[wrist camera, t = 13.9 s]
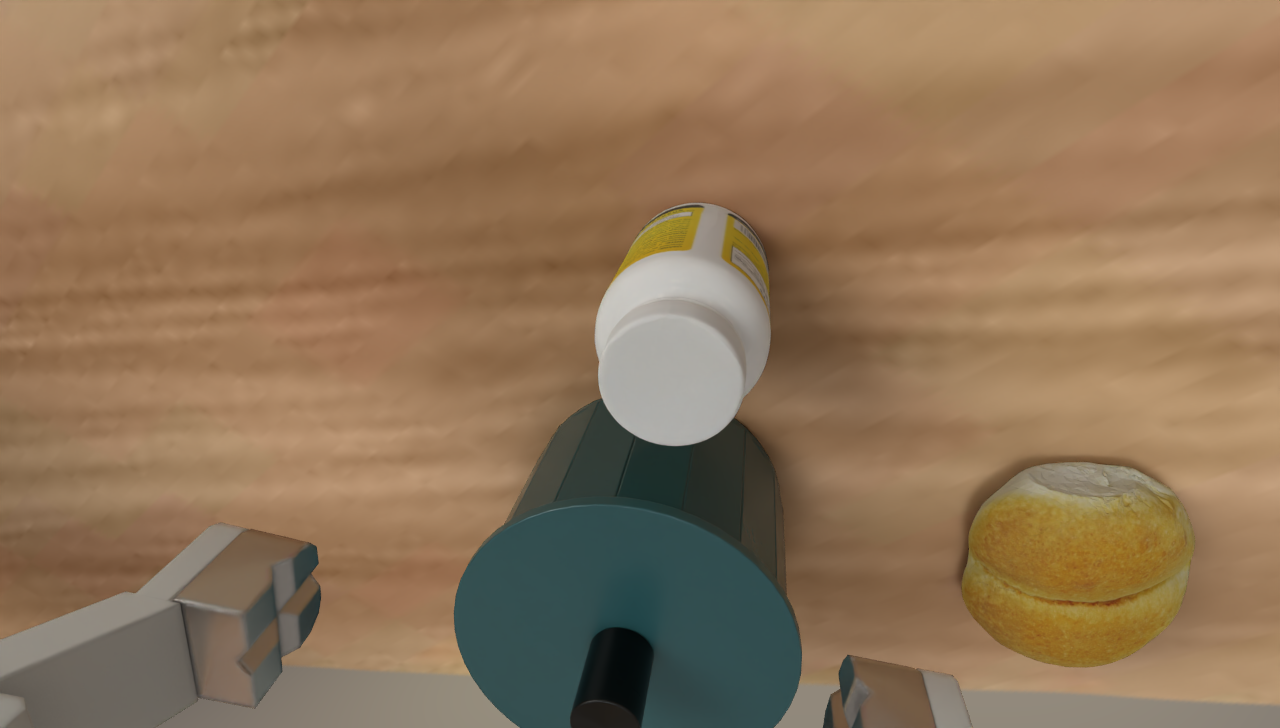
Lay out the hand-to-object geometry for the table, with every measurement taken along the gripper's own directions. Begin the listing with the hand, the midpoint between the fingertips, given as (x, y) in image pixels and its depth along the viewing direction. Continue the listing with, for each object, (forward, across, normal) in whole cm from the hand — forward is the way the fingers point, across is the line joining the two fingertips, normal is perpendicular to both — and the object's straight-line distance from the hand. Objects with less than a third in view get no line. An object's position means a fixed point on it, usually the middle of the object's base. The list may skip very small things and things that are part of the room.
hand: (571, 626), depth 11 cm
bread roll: (+19, -18, +9) cm, 27 cm away
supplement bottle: (+19, -1, 0) cm, 19 cm away
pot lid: (+10, -1, +11) cm, 15 cm away
